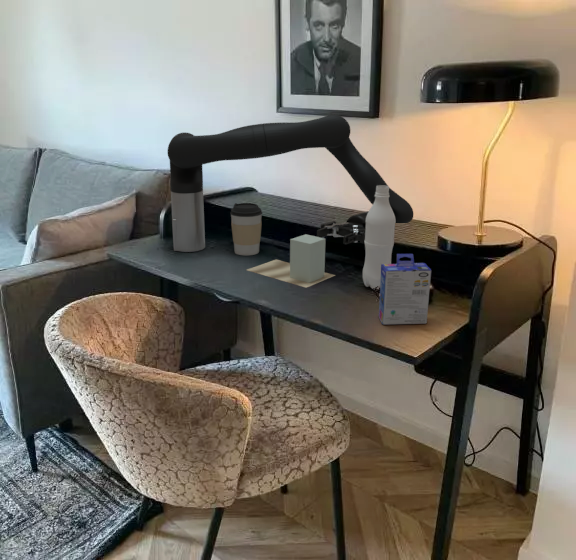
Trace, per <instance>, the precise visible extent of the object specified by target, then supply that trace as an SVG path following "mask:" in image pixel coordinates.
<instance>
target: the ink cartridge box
mask: <svg viewBox="0 0 576 560" xmlns="http://www.w3.org/2000/svg"><path fill="white" fill-rule="evenodd" d="M403 258H408V259H410V260H400V259H403ZM414 258H415V257H414V254H413V253H396V263H391V264H381V282H380V289H379V304H378V305H379V307H378V318H379V320H380V322H381V325H418V324H422V325H423V324H427V322H428V312H429V310H428V309H429V300H430V291H431V290H430V288H431V279H432V278H431V277H432V268H430V266H428V265H427V263H425V262H415V259H414Z"/></svg>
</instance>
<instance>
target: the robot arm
mask: <svg viewBox="0 0 576 560" xmlns="http://www.w3.org/2000/svg"><path fill="white" fill-rule="evenodd" d="M350 134H351V126H350V124H349V121H348V120H347V119H345V118H344V117H343V116H342V115H339V114H328V115H325V116H323V117H319V118H314V119H310V120H305V121H299V122H298V121H295V122H267V123H257V124H251V125H246V126H240V127H237V128H233V129H230V130H226V131H224V132H220V133H217V134H215V133H214V134H207V135H204V134H203V135H194V134H193V133H190V132H180V133H178V134H175V135H174V136H173V137H172V138H171V140H170V142H169V143H168V146H167V157H168V159H169V172H170V173H169V174H170V175H169V177H170V178H169V186H170V187H169V188H170V200H171V201H170V202H171V224H172V225H171V226H172V241H173V243H172V244H173V251H174V252H183V253H184V252H185V253H188V252H189V253H191V252H200V251H203V250H204V249H205V248H206V238H205V237H206V236H205V235H206V232H205V211H204V210H205V209H204V208H205V207H204V178H203V177H204V175H203V165H206V164H211V163H215V162H222V161H240V160H250V159H260V158H262V159H263V158H266V157H267V158H268V157H273V156H274V157H275V156H277V155H282V154H288V153H291V152H294V151H299V150H304V149H318V148H319V149H320V148H323V149H324V148H325V149H326V150H327V151H328V152H329V153H330V154H331V155H332V156H333V157H334V158H335V159H336V160H337V161H338V163H340V164H341V166H342V167H343V168H344V170H346V171H347V173H348V174H349V175H350V178H352V180H353V181H354V183H355V185H356V186H357V187H358V188H359V190H360V191H361V192H362V193H363V195H364V196H365V197H366V199H367V200H368V201H369V202H370V204H371V205H373V204H374V201H375V194H376V193H375V192H376V186H378V185H385V186H389V185H388V184H387V183H386V181H385V180H384V178H383V176H381V175H380V173H379V172H378V171H377V169H376V168H375V167H373V165H372V164H371V163H370V162H369V161H368V159H366V158H365V157H364V156H363V155H362V154H361V152H360V151H359V150H358V149H357V148H356V147H355V145H354V143H353V142H352V140H351V139H350V136H351V135H350ZM389 195H390V197H389V204H390V206H391V208H392V210H393V213H394V215H395V219H396V223H407V224H408V223H410V222H412V220H413V218H414V209H413V207H412V205H411V204H410V203H409V201H407V200H406V199H404V198H403V197H402V196H400V195H399V194H398V193H397V192H396V191H395V190H393V189H392V188H390V187H389ZM368 212H369V210H367V211H364V212H360V213H357V214H354V215H351V216H350V217H349V218H348V219H347V220H346V221H345V222H341V223H337V221H335V220H333V221H329V222H326V223H322V224H320V228H319V229H317V230H316V237H320V238H324V237H327V236H333V238H343V239H342V243H343V245H348V244H352V243H360V244H365V243H364V241H365V230H366V222H365V221H366V216H367V214H368ZM337 230H338V233H337ZM358 241H360V242H358Z"/></svg>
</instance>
